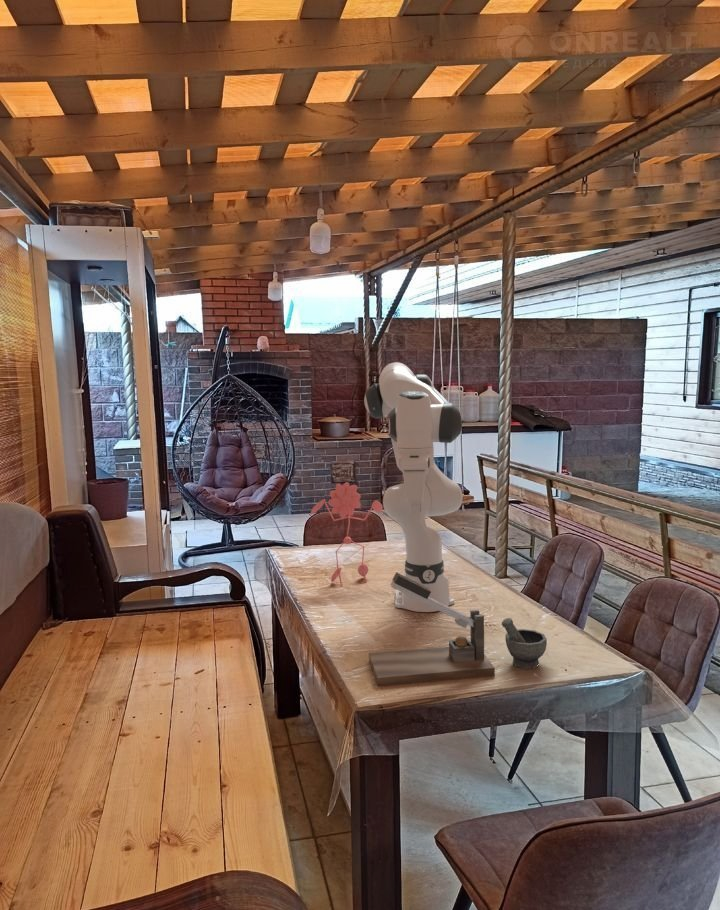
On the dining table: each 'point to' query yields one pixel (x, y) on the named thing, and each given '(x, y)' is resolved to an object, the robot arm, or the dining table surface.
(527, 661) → the mortar and pestle
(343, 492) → the figurine
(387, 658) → the press base
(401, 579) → the lever
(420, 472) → the robot arm
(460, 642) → the nut
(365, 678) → the dining table surface
